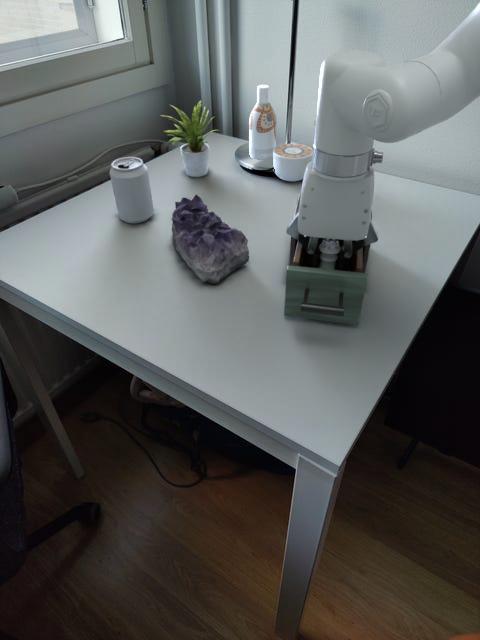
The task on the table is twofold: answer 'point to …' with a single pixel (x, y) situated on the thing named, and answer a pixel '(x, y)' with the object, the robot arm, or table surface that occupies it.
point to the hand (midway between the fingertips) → (326, 271)
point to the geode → (207, 241)
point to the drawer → (325, 288)
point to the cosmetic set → (263, 141)
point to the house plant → (193, 142)
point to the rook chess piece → (329, 254)
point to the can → (131, 189)
